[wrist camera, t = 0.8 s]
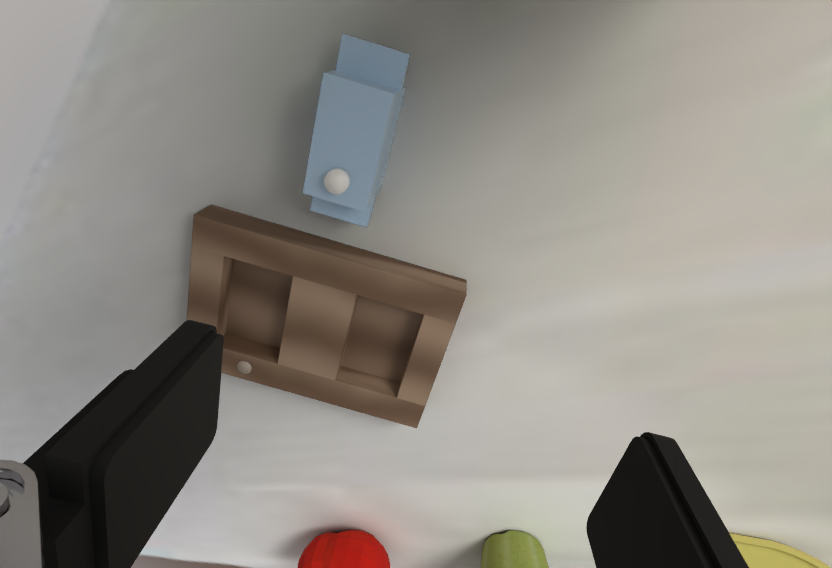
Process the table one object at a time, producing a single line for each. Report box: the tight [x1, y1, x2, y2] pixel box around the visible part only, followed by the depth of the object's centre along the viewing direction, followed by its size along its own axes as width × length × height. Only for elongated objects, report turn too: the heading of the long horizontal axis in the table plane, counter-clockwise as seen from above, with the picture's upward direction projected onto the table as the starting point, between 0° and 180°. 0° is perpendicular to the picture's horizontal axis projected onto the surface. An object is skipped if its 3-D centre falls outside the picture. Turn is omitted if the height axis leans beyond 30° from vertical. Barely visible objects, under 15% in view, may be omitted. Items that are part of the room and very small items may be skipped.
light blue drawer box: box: [303, 34, 411, 227], centre depth 30 cm, size 11×4×6 cm, turn 164°
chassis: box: [187, 205, 466, 428], centre depth 38 cm, size 13×20×3 cm, turn 75°
